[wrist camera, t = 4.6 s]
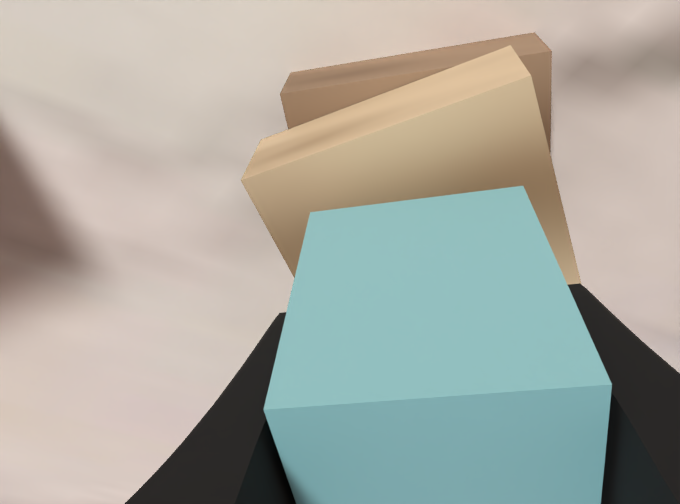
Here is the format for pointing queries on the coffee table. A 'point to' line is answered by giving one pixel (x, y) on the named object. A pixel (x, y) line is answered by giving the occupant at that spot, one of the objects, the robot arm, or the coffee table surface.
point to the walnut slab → (405, 77)
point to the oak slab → (414, 153)
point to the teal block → (437, 360)
